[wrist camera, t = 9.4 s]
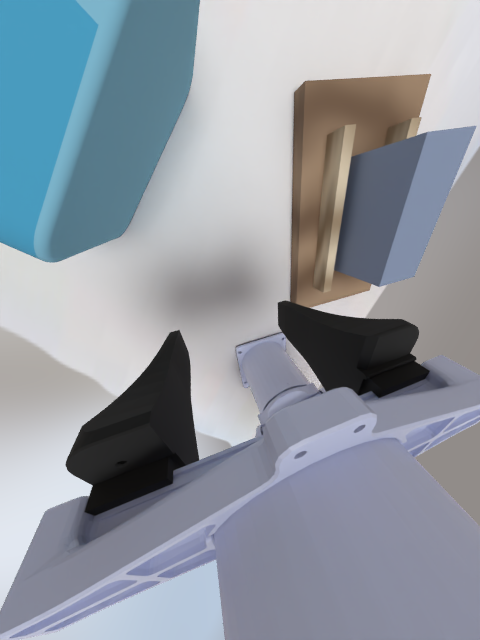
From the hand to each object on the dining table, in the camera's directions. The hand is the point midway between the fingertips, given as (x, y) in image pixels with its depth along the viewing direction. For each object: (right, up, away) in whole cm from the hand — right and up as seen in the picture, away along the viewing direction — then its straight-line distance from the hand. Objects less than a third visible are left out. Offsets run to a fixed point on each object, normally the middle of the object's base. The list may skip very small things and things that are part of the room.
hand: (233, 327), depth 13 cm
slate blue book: (+12, +12, +7) cm, 18 cm away
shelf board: (+12, +12, +8) cm, 19 cm away
